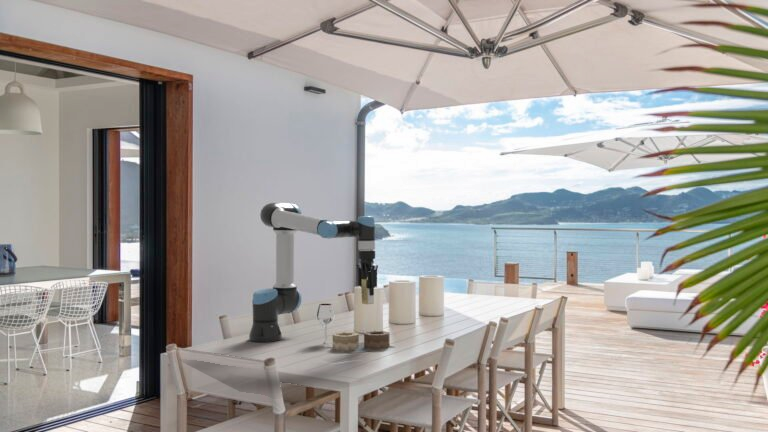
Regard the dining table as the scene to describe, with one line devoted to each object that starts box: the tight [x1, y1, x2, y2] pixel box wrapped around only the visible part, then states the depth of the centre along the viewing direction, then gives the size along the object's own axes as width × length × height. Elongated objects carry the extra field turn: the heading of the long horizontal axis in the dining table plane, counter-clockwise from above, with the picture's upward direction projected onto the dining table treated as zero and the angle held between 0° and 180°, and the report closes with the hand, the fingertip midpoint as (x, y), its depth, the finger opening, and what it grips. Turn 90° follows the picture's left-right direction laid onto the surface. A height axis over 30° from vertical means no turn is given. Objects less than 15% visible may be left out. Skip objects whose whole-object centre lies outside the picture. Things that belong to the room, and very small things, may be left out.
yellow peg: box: [361, 278, 375, 305], centre depth 299 cm, size 4×4×11 cm
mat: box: [327, 341, 395, 355], centre depth 292 cm, size 24×18×1 cm
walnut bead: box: [363, 330, 391, 350], centre depth 293 cm, size 11×11×6 cm
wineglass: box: [316, 303, 336, 344], centre depth 304 cm, size 8×8×18 cm
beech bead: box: [332, 331, 360, 351], centre depth 291 cm, size 11×11×6 cm
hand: (367, 302), depth 299 cm, fingers closed on yellow peg, 4 cm apart
